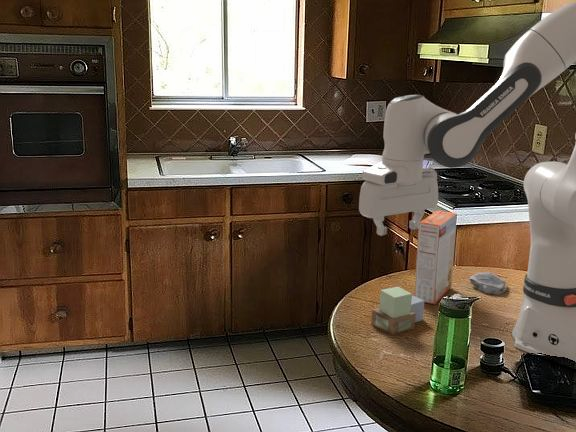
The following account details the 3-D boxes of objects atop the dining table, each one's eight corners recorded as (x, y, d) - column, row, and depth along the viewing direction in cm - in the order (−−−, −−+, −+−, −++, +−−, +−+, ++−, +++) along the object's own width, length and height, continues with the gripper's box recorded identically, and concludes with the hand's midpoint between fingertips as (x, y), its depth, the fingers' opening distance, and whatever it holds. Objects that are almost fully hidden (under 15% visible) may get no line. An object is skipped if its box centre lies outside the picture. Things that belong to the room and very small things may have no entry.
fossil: (514, 286, 170) (476, 276, 169) (509, 300, 170) (472, 291, 170) (501, 274, 181) (466, 266, 181) (497, 288, 181) (462, 279, 181)
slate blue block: (422, 320, 154) (424, 300, 153) (408, 325, 151) (409, 305, 150) (407, 312, 158) (408, 293, 157) (392, 317, 155) (394, 298, 154)
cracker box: (430, 283, 177) (436, 209, 171) (451, 288, 174) (459, 212, 169) (411, 300, 165) (417, 221, 160) (434, 305, 162) (441, 225, 157)
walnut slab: (414, 329, 150) (416, 313, 149) (392, 337, 146) (393, 320, 144) (392, 318, 155) (393, 302, 154) (370, 325, 151) (371, 309, 150)
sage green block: (410, 314, 148) (412, 293, 147) (393, 318, 145) (394, 297, 144) (396, 306, 152) (397, 286, 151) (379, 310, 150) (380, 290, 148)
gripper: (427, 164, 149) (422, 222, 153) (356, 172, 139) (353, 234, 143) (447, 168, 144) (442, 228, 148) (374, 177, 134) (371, 242, 137)
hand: (398, 231), depth 145 cm, fingers open, 8 cm apart
